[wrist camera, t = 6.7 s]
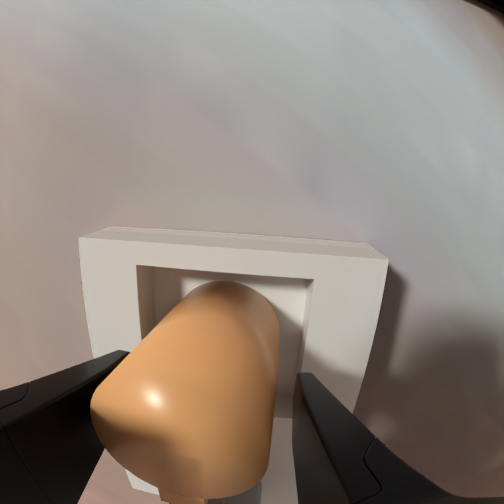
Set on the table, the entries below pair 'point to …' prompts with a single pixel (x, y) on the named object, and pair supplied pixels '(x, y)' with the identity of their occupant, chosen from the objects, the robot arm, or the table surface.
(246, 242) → the housing
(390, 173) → the table surface
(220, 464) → the orange rounded tapered piece
